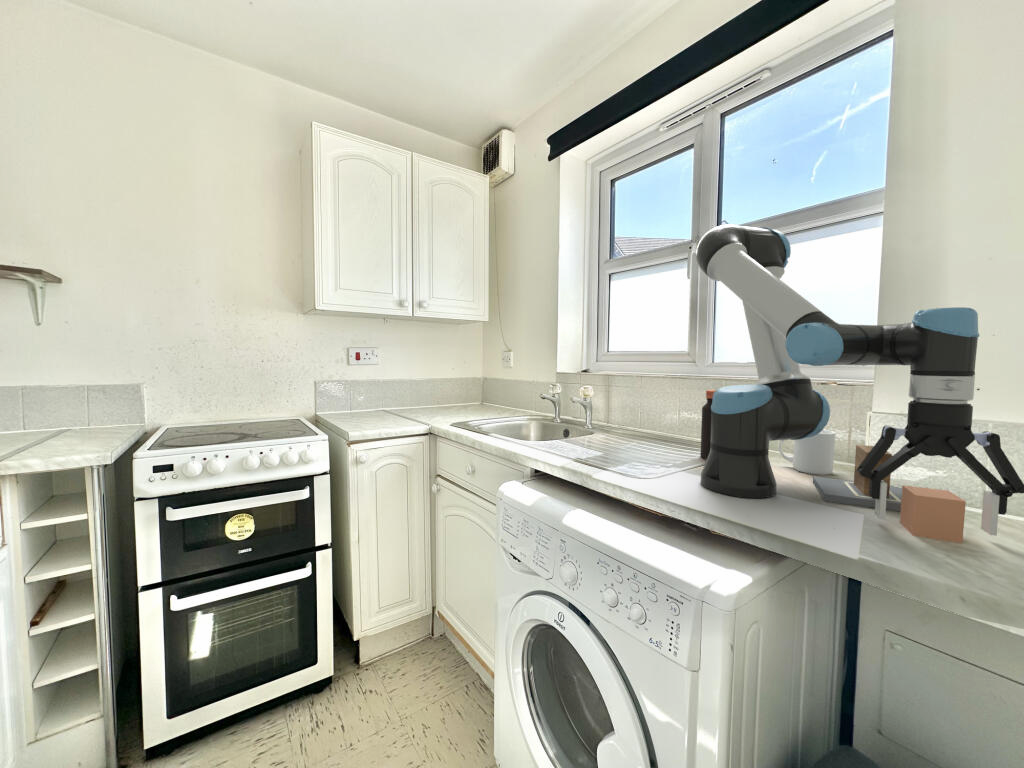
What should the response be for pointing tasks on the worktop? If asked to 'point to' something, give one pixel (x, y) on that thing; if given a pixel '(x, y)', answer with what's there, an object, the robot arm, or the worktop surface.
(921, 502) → the cap cube
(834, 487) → the baseboard
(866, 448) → the tall cardboard box
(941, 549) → the worktop surface
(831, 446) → the mug
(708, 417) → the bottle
